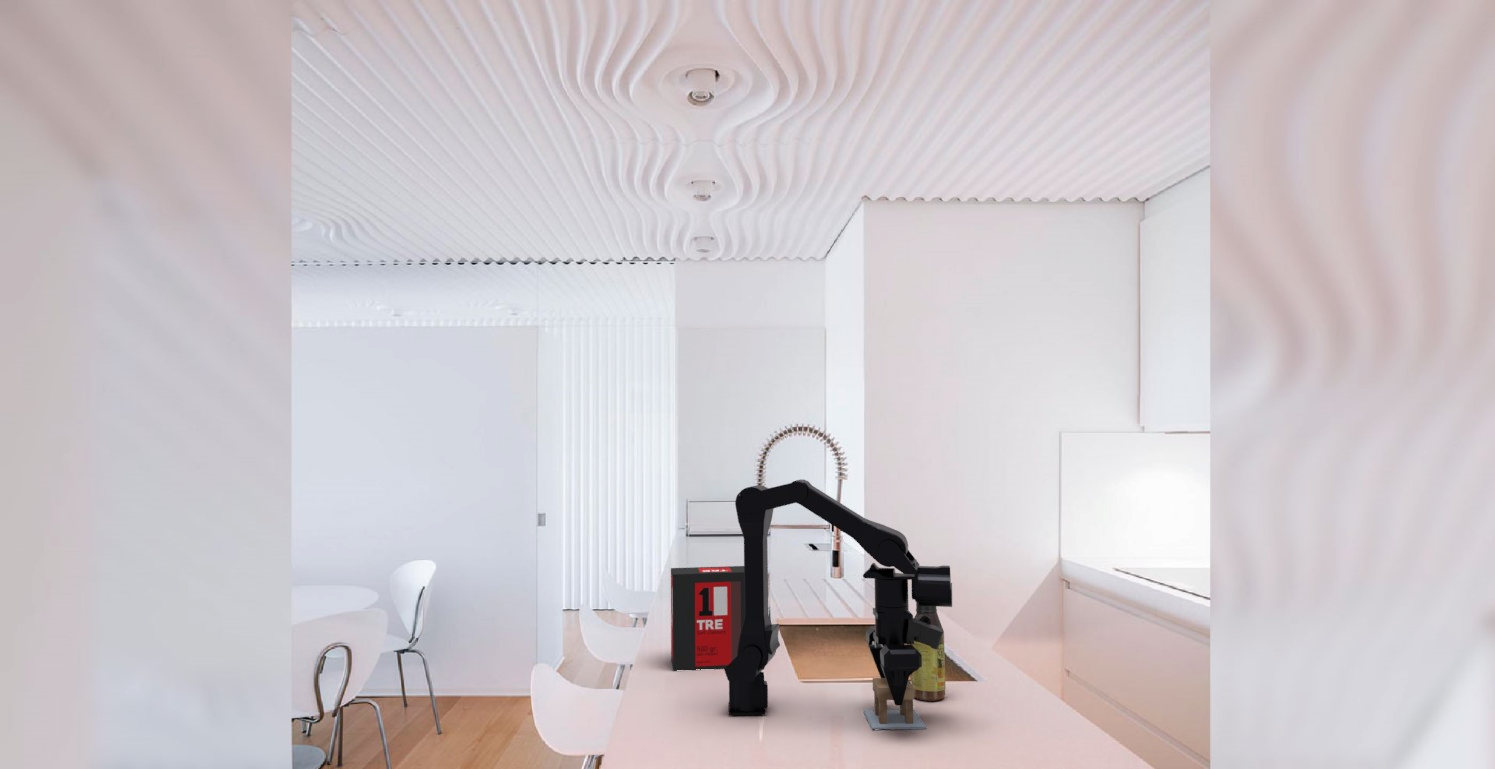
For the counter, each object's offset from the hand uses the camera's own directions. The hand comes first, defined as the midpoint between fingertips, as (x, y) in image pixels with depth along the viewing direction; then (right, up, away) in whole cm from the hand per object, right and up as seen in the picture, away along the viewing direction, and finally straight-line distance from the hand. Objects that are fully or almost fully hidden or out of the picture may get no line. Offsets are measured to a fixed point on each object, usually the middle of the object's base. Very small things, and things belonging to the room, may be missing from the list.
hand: (893, 697), depth 148 cm
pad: (0, -4, 0) cm, 4 cm away
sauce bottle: (+9, -5, +13) cm, 16 cm away
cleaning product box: (-33, -7, +38) cm, 51 cm away
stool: (0, -4, 0) cm, 4 cm away
